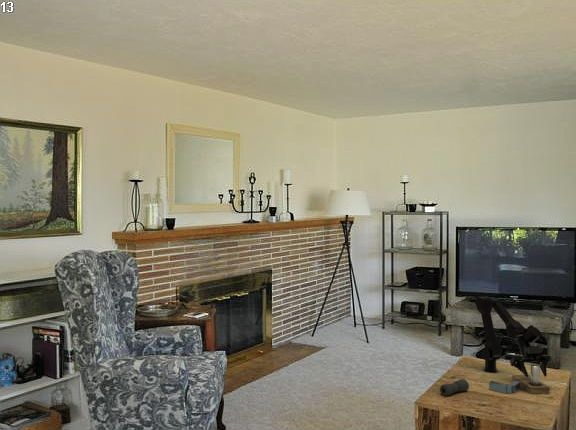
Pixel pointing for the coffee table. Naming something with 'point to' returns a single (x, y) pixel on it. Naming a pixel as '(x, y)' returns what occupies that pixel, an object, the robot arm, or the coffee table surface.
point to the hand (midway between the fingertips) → (536, 376)
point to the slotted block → (526, 384)
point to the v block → (505, 387)
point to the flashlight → (454, 387)
